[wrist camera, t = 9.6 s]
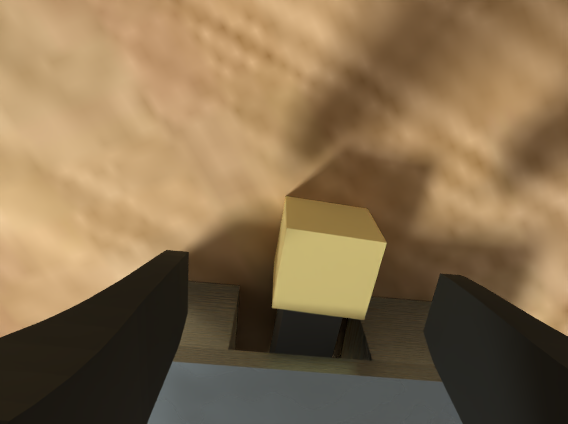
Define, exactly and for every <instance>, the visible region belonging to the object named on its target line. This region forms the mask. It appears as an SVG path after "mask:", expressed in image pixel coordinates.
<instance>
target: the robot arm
mask: <svg viewBox="0 0 568 424" xmlns="http://www.w3.org/2000/svg"><path fill="white" fill-rule="evenodd" d="M188 256H189V252H183V251H171V250H166V251H164V252H163V253H161V254H159V255H158V256H156V257H155V258H153V259H152V260H150V261H149V262H147V263H146V264H144V265H143V266H141V267H140V268H138V269H137V270H135V271H134V272H132V273H131V274H129V275H128V276H126V277H125V278H123V279H121V280H120V281H118V282H117V283H115V284H113V285H111V286H110V287H108V288H106V289H105V290H103V291H101V292H99V293H98V294H96V295H94V296H92V297H91V298H89V299H87V300H85V301H83V302H82V303H80V304H78V305H76V306H74V307H72V308H70V309H68V310H65V311H63V312H61V313H59V314H57V315H55V316H53V317H50V318H48V319H46V320H44V321H41V322H39V323H36V324H34V325H31V326H29V327H26V328H24V329H21V330H19V331H16V332H13V333H11V334H8V335H6V336H3V337H1V338H0V424H147V423H148V420H149V418H150V415H151V413H152V410H153V408H154V405H155V403H156V401H157V398H158V396H159V393H160V391H161V388H162V386H163V384H164V381H165V379H166V376H167V374H168V372H169V369H170V367H171V364H172V362H173V359H174V357H175V354H176V352H177V349H178V347H179V344H180V341H181V337H182V333H183V330H184V326H185V322H186V318H187V314H188ZM423 332H424V335H425V339H426V342H427V345H428V349H429V352H430V355H431V357H432V360H433V363H434V365H435V368H436V370H437V372H438V374H439V376H440V378H441V380H442V382H443V384H444V387H445V389H446V391H447V393H448V395H449V397H450V399H451V401H452V403H453V405H454V407H455V409H456V411H457V413H458V415H459V417H460V419H461V421H462V423H463V424H568V336H566V335H564V334H562V333H561V332H559V331H557V330H555V329H553V328H552V327H550V326H548V325H546V324H545V323H543V322H541V321H539V320H538V319H536V318H534V317H533V316H531V315H529V314H528V313H526V312H524V311H523V310H521V309H519V308H518V307H516V306H514V305H513V304H511V303H509V302H508V301H506V300H504V299H503V298H501V297H499V296H498V295H496V294H494V293H493V292H491V291H489V290H488V289H486V288H484V287H483V286H481V285H479V284H477V283H476V282H474V281H472V280H470V279H468V278H466V277H464V276H461V275H451V274H440V276H439V279H438V283H437V286H436V290H435V293H434V296H433V300H432V303H431V307H430V310H429V313H428V317H427V320H426V323H425V327H424V330H423Z"/></svg>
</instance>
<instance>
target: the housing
mask: <svg viewBox="0 0 568 424" xmlns="http://www.w3.org/2000/svg"><path fill="white" fill-rule="evenodd" d="M239 288H240V286H239V285H227V284H216V283H204V282H192V281H188V314H187V318H186V322H185V326H184V330H183V333H182V337H181V341H180V344H179V347H178V349H177V352H176V354H175V357H174V359H173V362H172V364H171V367H170V369H169V372H168V374H167V376H166V379H165V381H164V384H163V386H162V388H161V391H160V393H159V396H158V398H157V401H156V403H155V405H154V408H153V410H152V413H151V415H150V418H149V420H148V423H147V424H463V423H462V421H461V419H460V417H459V415H458V413H457V411H456V409H455V407H454V405H453V403H452V401H451V399H450V397H449V395H448V393H447V391H446V389H445V387H444V384H443V382H442V380H441V378H440V376H439V374H438V372H437V370H436V368H435V365H434V363H433V360H432V357H431V355H430V352H429V349H428V345H427V342H426V339H425V335H424V332H423V330H424V327H425V323H426V320H427V317H428V313H429V310H430V307H431V303H432V302H429V301H417V300H405V299H393V298H381V297H371V298H370V302H369V305H368V309H367V312H366V315H365V319H364V320H359V319H351V318H348V323H347V328H346V333H345V338H344V343H343V348H342V353H341V358H331V357H318V356H305V355H292V354H279V353H266V352H253V351H240V350H235V345H236V331H237V317H238V302H239Z"/></svg>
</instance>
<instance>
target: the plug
mask: <svg viewBox="0 0 568 424" xmlns="http://www.w3.org/2000/svg"><path fill="white" fill-rule="evenodd" d="M386 244H387V242H386V240H385V239H384V237H383V235H382V233H381V232H380V230H379V228H378V226H377V225H376V223H375V221H374V219H373V218H372V216H371V214H370V212H369V210H368V209H367V208H360V207H354V206H347V205H341V204H334V203H328V202H321V201H315V200H308V199H302V198H295V197H289V196H286V198H285V203H284V209H283V215H282V220H281V226H280V232H279V237H278V243H277V249H276V254H275V260H274V271H273V296H272V308H277V315H276V320H275V325H274V330H273V336H272V341H271V346H270V351H269V353H279V354H292V355H305V356H318V357H331V358H332V356H333V352H334V348H335V344H336V341H337V337H338V333H339V330H340V326H341V322H342V318H343V317H344V318H351V319H359V320H364V319H365V315H366V312H367V309H368V305H369V302H370V298H371V295H372V292H373V288H374V285H375V281H376V278H377V275H378V271H379V268H380V264H381V261H382V258H383V254H384V251H385V247H386Z"/></svg>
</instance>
